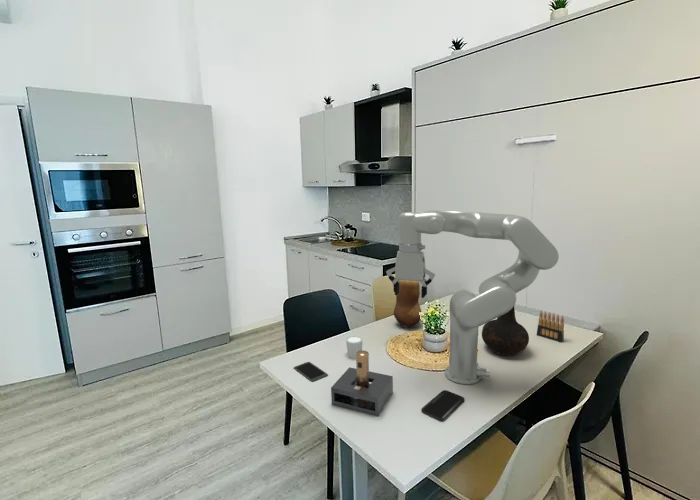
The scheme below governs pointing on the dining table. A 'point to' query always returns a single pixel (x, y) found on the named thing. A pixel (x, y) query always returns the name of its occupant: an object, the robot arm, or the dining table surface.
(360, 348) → the white cylinder
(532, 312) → the dining table surface
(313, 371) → the cell phone
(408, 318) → the butternut squash
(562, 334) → the ammunition clip
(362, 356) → the brown long cylinder
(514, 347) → the glass bottle
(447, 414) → the phone
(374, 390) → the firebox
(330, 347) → the dining table surface
